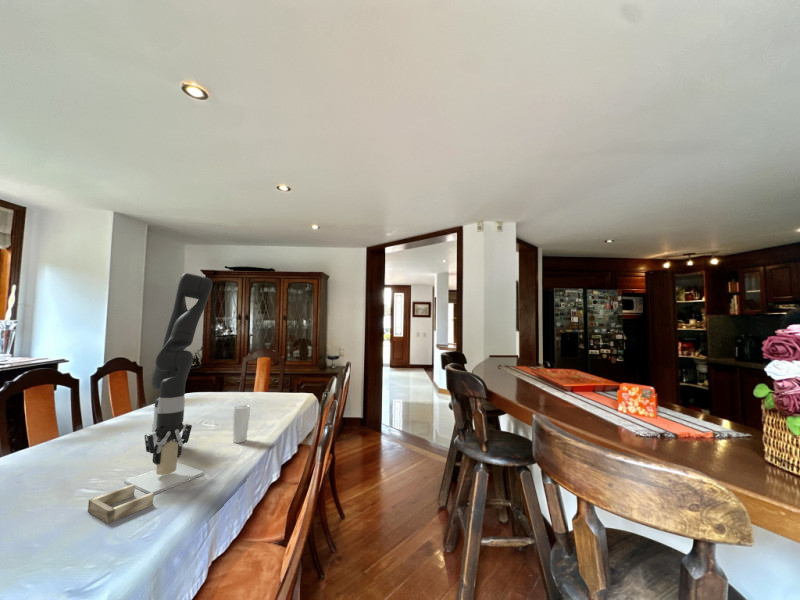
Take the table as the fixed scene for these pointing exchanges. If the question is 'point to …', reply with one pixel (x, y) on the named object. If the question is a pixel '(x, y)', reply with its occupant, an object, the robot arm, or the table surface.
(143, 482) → the plate
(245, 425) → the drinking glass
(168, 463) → the candle
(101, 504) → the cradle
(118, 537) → the table surface
